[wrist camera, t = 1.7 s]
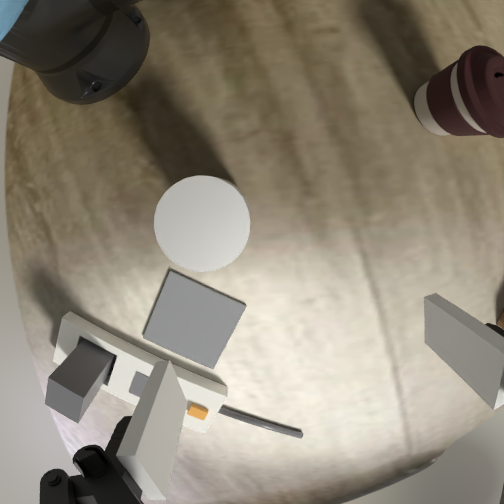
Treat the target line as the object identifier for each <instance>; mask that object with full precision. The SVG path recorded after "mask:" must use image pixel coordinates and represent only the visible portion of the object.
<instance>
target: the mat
mask: <svg viewBox="0 0 504 504" xmlns="http://www.w3.org/2000/svg"><path fill="white" fill-rule="evenodd" d="M245 308H246V305H245V304H243V303H240V302H238V301H236V300H234V299H232V298H229V297H227V296H225V295H223V294H221V293H218V292H216V291H214V290H212V289H210V288H208V287H205V286H203V285H201V284H199V283H197V282H195V281H193V280H191V279H188V278H186V277H184V276H182V275H180V274H178V273H176V272H174V271H172V270H171V271H170V273H169V275H168V277H167V280H166V282H165V284H164V287H163V289H162V292H161V294H160V296H159V299H158V301H157V304H156V306H155V309H154V311H153V314H152V316H151V319H150V321H149V324H148V326H147V329H146V331H145V334H144V336H143V338H144V339H147V340H149V341H151V342H153V343H155V344H157V345H159V346H161V347H163V348H165V349H168V350H170V351H172V352H174V353H176V354H179V355H181V356H183V357H185V358H188V359H190V360H192V361H195V362H197V363H199V364H202V365H204V366H206V367H209V368H211V369H214V367H215V365H216V363H217V361H218V359H219V357H220V355H221V354H222V352H223V350H224V348H225V346H226V344H227V342H228V340H229V338H230V337H231V335H232V333H233V331H234V329H235V327H236V325H237V323H238V321H239V320H240V318H241V316H242V314H243V312H244V310H245Z"/></svg>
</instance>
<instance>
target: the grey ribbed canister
mask: <svg viewBox="0 0 504 504" xmlns="http://www.w3.org/2000/svg"><path fill="white" fill-rule="evenodd" d="M249 214H250V209H249V204H248V201H247V199H246V197H245V195H244V194H243V193H242V192H241V191H240V189H239V188H238V187H237V186H236V185H234V184H233V183H231V182H230V181H227V180H224V179H221V178H218V177H212V176H200V175H198V176H193V177H188V178H185V179H183V180H181V181H179V182H177V183H175V184H174V185H173V186H172V187H170V188H169V189H168V190H167V191H166V192H165V193H164V195H163V196H162V198H161V200H160V201H159V203H158V206H157V209H156V212H155V218H154V229H155V234H156V238H157V241H158V243H159V245H160V247H161V249H162V251H163V252H164V253H165V254H166V255H167V257H168V258H169V259H170V260H171V261H173V262H174V263H176V264H177V265H179V266H180V267H182V268H185V269H188V270H191V271H197V272H208V271H214V270H218V269H220V268H222V267H224V266H226V265H228V264H230V263H231V262H232V261H233V260H234V259H236V258H237V257H238V256H239V254H240V253H241V251H242V250H243V248H244V247H245V245H246V242H247V239H248V237H249V232H250V217H249Z"/></svg>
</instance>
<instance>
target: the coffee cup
mask: <svg viewBox="0 0 504 504" xmlns="http://www.w3.org/2000/svg"><path fill="white" fill-rule="evenodd" d="M414 107H415V112H416V115H417V117H418V119H419V121H420V122H421V124H422V125H423V126H424V127H425V128H426V129H427V130H428V131H430V132H432V133H434V134H437V135H456V136H470V135H491V136H494V137H497V138H504V57H503V56H502V55H501V54H500V53H498V52H497V51H496V50H494V49H492V48H490V47H487V46H481V45H480V46H475V47H472V48H470V49H468V50H467V51H465V52H464V53H463V54H462V55H461V57H460V58H459V60H457V61H456V62H454V63H452V64H451V65H449V66H448V67H446V68H445V69H443V70H442V71H440V72H439V73H437V74H436V75H434V76H433V77H432V78H431V79H430V81H428V82H427V83H425V84H424V85H422V86H421V87H420V88H419V89H418V90H417V92H416V94H415V98H414Z"/></svg>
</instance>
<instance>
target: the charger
mask: <svg viewBox="0 0 504 504" xmlns="http://www.w3.org/2000/svg"><path fill="white" fill-rule="evenodd" d="M115 357H116V355H115V354H113V353H111V352H109V351H108V350H106V349H104V348H102V347H100V346H98V345H96V344H95V343H93V342H91V341H89V340H87V339H86V338H84V339H83V341H82V342H81V343H80V344H79V345H78V346H77V347H76V348H75V349H74V350H73V351H72V352H71V353H70V354H69V356H68V357H67V358H66V359H65V360H64V361H63V362H62V363H61V364H60V365H59V366H58V368H57V369H56V370H55V371H54V372H53V373H52V374H51V375H50V376H49V378H48V384H47V392H46V400H45V404H46V405H48V406H49V407H51V408H52V409H54V410H56V411H57V412H59V413H61V414H63V415H64V416H66V417H68V418H69V419H71V420H73V421H75V422H77V423H79V421H80V420H81V418H82V416H83V415H84V413H85V412H86V410H87V408H88V407H89V405H90V404H91V402H92V400H93V399H94V397H95V396H96V394H97V392H98V391H99V389H100V388H101V386H102V385H103V383H104V381H105V380H106V378H107V377H108V375H109V374H110V372H111V369H112V366H113V363H114V360H115Z"/></svg>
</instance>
